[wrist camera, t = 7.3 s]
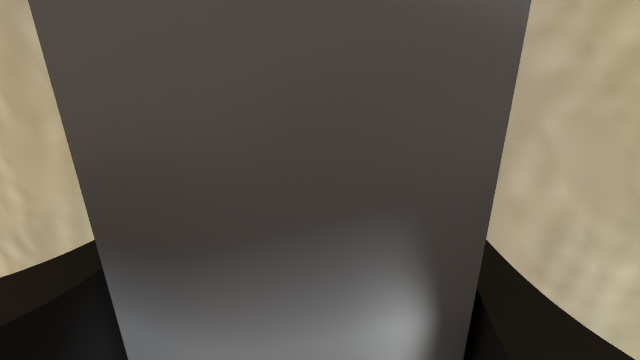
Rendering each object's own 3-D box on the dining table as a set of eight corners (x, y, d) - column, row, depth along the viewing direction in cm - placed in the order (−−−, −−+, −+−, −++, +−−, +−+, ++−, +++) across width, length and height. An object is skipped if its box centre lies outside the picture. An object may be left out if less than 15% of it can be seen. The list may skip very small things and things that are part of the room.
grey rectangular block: (458, -40, 10) (538, -46, 4) (411, 359, 15) (422, 572, 10) (206, -37, 11) (16, -41, 5) (247, 341, 16) (175, 529, 11)
